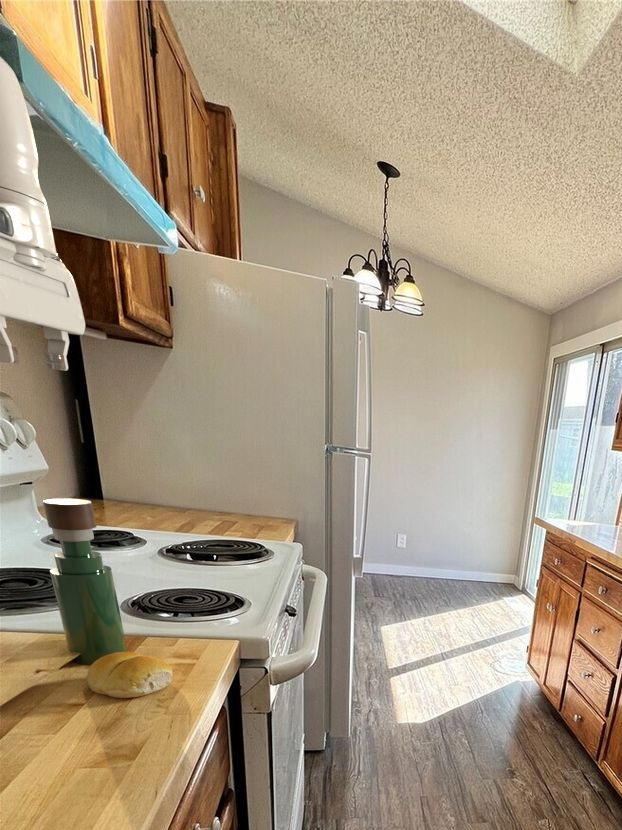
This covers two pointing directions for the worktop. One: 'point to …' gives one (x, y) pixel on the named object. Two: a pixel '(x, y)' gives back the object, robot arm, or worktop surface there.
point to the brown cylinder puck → (69, 514)
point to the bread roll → (128, 675)
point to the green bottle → (86, 598)
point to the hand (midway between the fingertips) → (34, 366)
